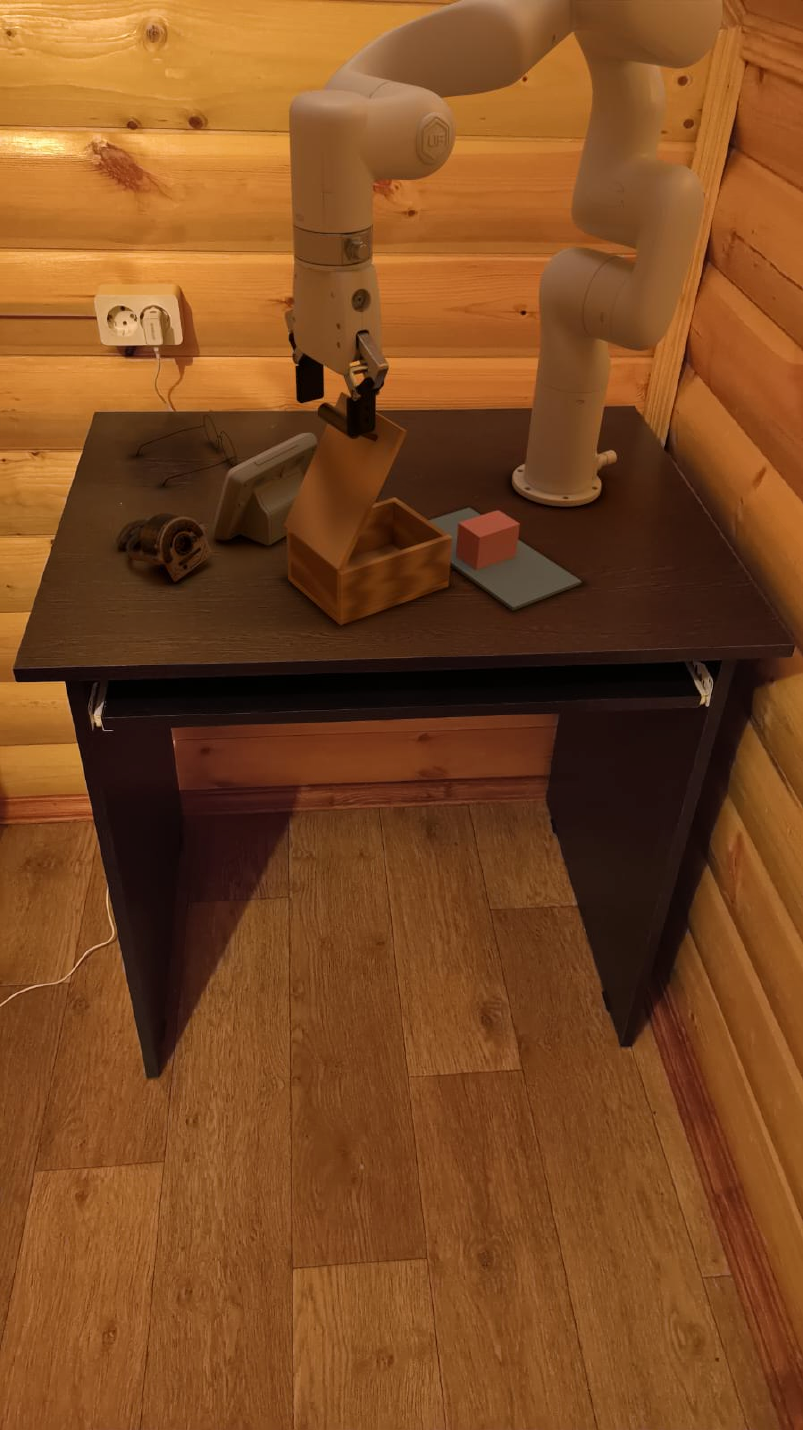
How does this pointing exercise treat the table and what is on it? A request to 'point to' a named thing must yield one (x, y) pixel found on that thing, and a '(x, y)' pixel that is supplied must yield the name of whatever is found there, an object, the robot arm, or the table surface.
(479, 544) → the eraser
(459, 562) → the mat
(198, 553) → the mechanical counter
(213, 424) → the eyeglasses
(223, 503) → the digital clock
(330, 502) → the lid
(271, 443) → the table surface
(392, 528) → the pencil box
